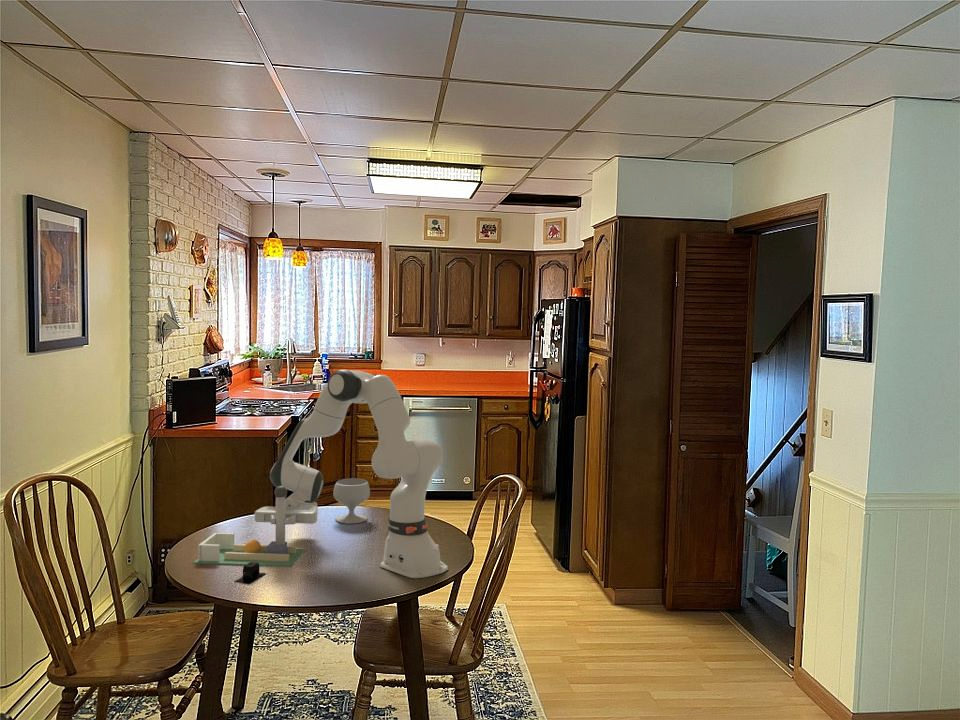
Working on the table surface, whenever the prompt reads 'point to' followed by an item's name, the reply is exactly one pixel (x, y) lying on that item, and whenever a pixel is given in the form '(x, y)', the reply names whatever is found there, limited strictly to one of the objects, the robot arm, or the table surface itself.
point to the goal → (217, 541)
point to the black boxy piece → (250, 573)
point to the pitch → (292, 559)
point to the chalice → (351, 498)
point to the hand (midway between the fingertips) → (279, 521)
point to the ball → (252, 546)
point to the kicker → (279, 523)
